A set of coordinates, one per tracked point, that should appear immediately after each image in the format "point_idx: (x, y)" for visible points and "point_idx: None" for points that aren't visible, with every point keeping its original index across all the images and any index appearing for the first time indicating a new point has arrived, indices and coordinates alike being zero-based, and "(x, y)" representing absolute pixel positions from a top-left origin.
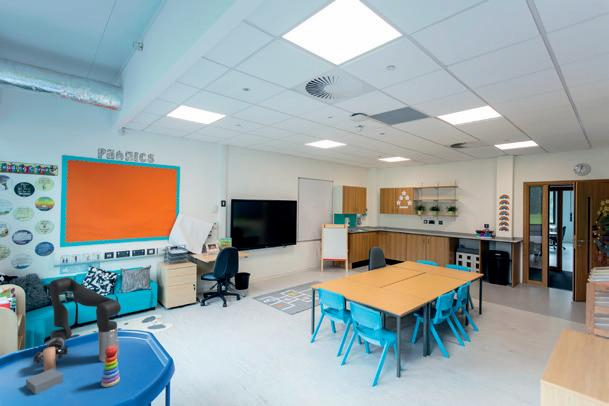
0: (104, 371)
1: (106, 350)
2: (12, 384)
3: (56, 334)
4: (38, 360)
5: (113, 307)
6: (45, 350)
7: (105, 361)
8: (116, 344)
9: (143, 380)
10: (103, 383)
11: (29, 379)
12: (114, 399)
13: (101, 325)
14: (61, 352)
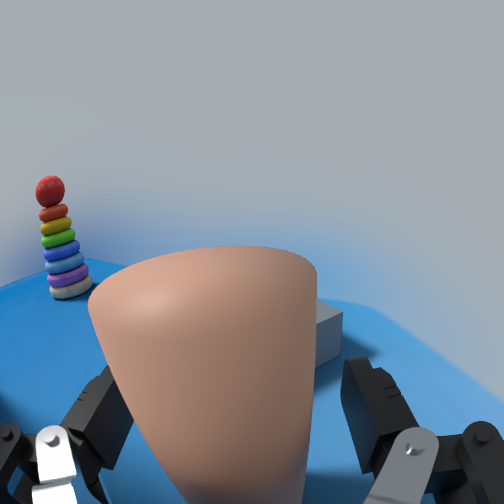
0: (77, 242)
1: (60, 180)
2: (445, 386)
3: None
4: (351, 362)
5: None
6: (262, 257)
7: (65, 217)
8: None
9: (39, 280)
10: (89, 275)
11: (320, 307)
12: (104, 262)
13: None
14: (61, 434)
